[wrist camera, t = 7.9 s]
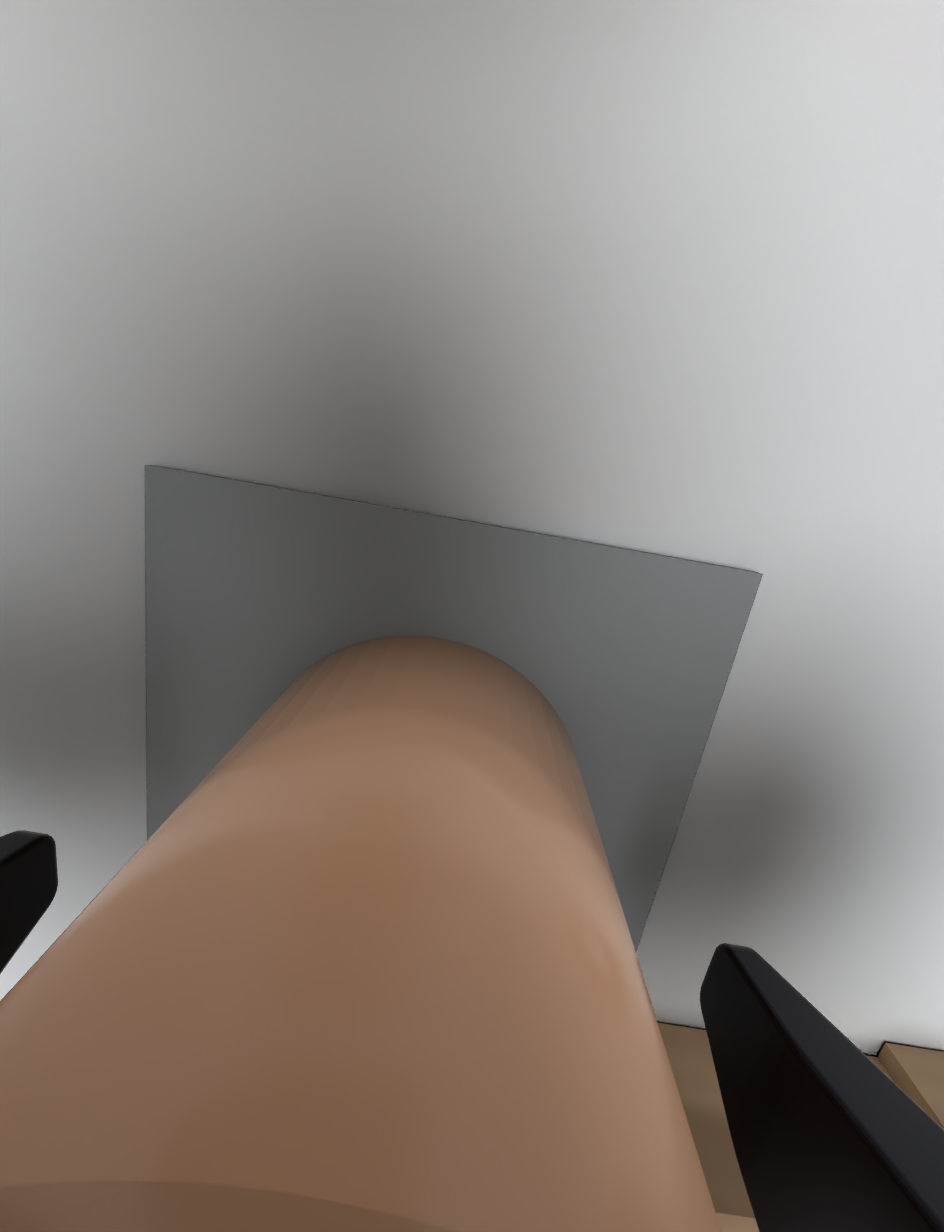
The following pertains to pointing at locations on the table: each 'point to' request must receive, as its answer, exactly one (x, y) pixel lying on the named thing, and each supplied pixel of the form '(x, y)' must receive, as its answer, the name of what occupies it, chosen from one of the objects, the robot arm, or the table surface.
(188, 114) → the table surface
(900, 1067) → the brown wooden tray
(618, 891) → the slate mat
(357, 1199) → the terracotta pot
